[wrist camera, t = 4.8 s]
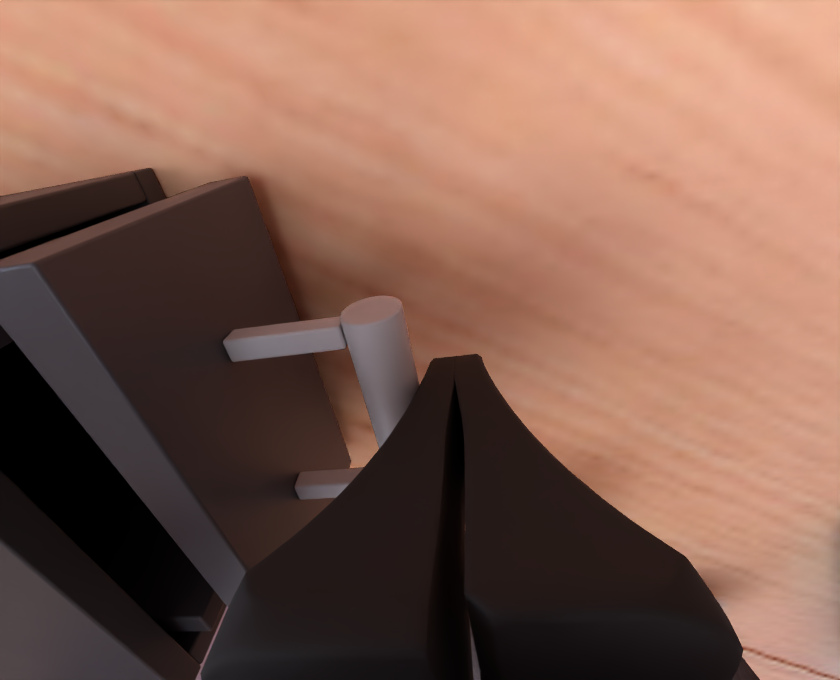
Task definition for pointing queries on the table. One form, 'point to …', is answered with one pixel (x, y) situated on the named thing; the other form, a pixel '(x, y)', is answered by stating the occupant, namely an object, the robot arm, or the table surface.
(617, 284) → the table surface
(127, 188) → the cabinet
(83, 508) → the drawer
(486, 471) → the robot arm
